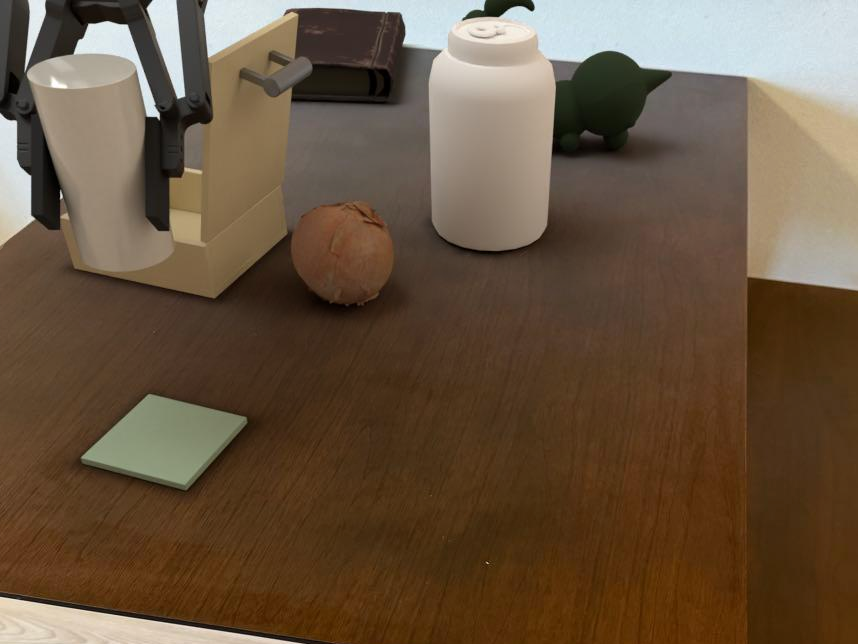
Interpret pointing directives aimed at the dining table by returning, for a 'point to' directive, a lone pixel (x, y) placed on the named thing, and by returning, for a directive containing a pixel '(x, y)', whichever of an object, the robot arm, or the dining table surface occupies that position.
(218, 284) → the beige shallow open box
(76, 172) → the canister
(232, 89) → the lid
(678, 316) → the dining table surface
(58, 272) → the dining table surface
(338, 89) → the diary
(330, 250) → the onion
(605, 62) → the toy figurine
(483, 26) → the can
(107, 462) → the mat
